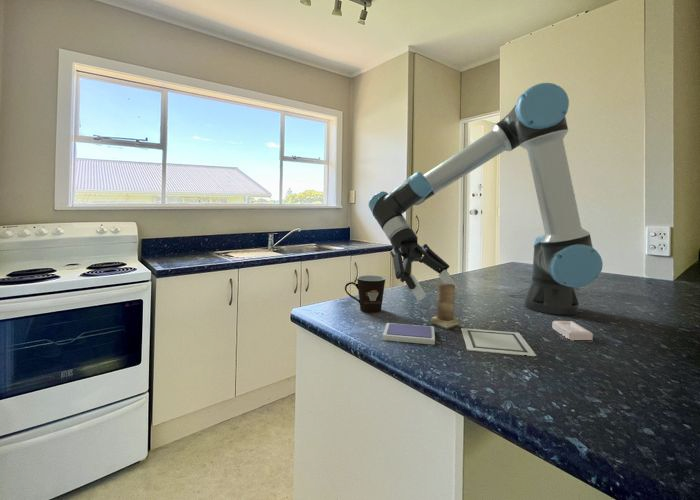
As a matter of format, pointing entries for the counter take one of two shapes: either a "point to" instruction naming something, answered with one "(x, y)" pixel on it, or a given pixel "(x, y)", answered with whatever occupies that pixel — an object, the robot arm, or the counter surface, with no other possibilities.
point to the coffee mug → (369, 292)
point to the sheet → (496, 342)
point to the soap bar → (572, 330)
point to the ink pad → (409, 333)
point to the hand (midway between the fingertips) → (439, 294)
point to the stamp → (445, 307)
